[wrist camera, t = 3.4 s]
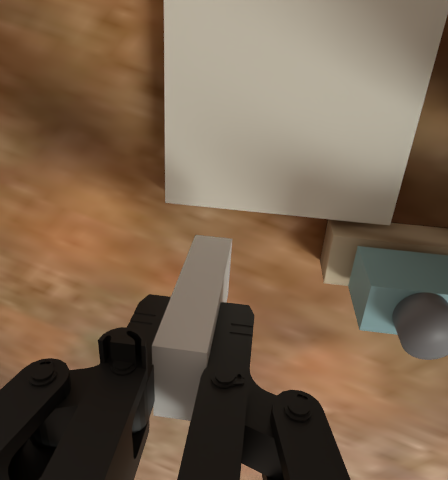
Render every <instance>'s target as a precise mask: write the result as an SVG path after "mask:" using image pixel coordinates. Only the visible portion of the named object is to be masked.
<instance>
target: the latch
mask: <svg viewBox="0 0 448 480" xmlns="http://www.w3.org/2000/svg"><path fill="white" fill-rule="evenodd" d="M348 287H349V291H350V295H351V299H352V302H353V306H354V310H355V314H356V318H357V322H358V326H359V330H364V331H372V332H381V333H389V334H397V335H398V337H399V339H400V342H401V345H402V347H403V349H404V350H405V351H406V352H407V353H408V354H410V355H411V356H413V357H416V358H419V359H426V360H431V359H438V358H442V357H445V356H447V355H448V255H439V254H429V253H420V252H410V251H401V250H391V249H382V248H372V247H363V246H358V247H357V251H356V255H355V259H354V263H353V268H352V272H351V276H350V280H349V284H348Z"/></svg>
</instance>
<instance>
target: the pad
mask: <svg viewBox="0 0 448 480" xmlns="http://www.w3.org/2000/svg"><path fill="white" fill-rule="evenodd" d="M447 15H448V0H164V96H165V203H173V204H183V205H193V206H203V207H213V208H223V209H232V210H242V211H252V212H262V213H272V214H282V215H292V216H301V217H311V218H321V219H331V220H341V221H351V222H361V223H371V224H380V225H390V224H391V220H392V216H393V213H394V209H395V205H396V202H397V198H398V194H399V191H400V187H401V183H402V180H403V176H404V172H405V169H406V165H407V161H408V158H409V154H410V150H411V147H412V143H413V139H414V136H415V132H416V128H417V125H418V121H419V117H420V114H421V110H422V106H423V103H424V99H425V95H426V92H427V88H428V84H429V81H430V77H431V73H432V70H433V66H434V62H435V59H436V55H437V51H438V48H439V44H440V40H441V37H442V33H443V29H444V26H445V22H446V18H447Z"/></svg>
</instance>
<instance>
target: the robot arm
mask: <svg viewBox="0 0 448 480" xmlns="http://www.w3.org/2000/svg"><path fill="white" fill-rule="evenodd" d="M231 248H232V239H229V238H220V237H210V236H201V235H195V237H194V240H193V242H192V245H191V248H190V250H189V253H188V255H187V258H186V260H185V263H184V265H183V268H182V270H181V273H180V275H179V278H178V281H177V283H176V286H175V288H174V291H173V293H172V296H171V297H167V296H159V295H151V294H149V295H148V296H147V297H145V298H144V299H143V300H142V301H140V302H139V304H138V306H137V308H136V310H135V312H134V314H133V316H132V318H131V320H130V322H129V324H128V326H127V327H126V328H116V329H113V330H110V331H108V332H106V333H105V334H103V335H102V336H101V337H100V339H99V340H98V345H99V354H100V365H97V366H94V367H90V368H85V369H77V370H69V368H68V366H67V365H66V363H64V362H63V361H61V360H58V359H52V358H50V359H41V360H38V361H36V362H33V363H31V364H30V365H28V366H27V367H25V368H24V369H23V370H21V371H20V372H19V373H18V374H17V375H16V376H15V377H14V378H13V379H12V380H10V381H9V382H8V383H7V384H6V385H5V386H4V387H3V388H2V389H1V390H0V480H134V477H135V474H136V471H137V468H138V465H139V462H140V458H141V455H142V452H143V449H144V446H145V443H146V439H147V436H148V433H149V417H150V414H151V411H152V408H153V406H154V416H161V417H168V418H175V419H182V420H189V421H191V422H190V426H189V431H188V435H187V439H186V444H185V448H184V453H183V457H182V461H181V466H180V470H179V475H178V479H177V480H240V471H241V463H242V464H244V465H246V466H248V467H250V468H252V469H254V470H256V471H258V472H260V473H262V478H263V480H350V477H349V475H348V472H347V469H346V467H345V464H344V462H343V459H342V457H341V454H340V452H339V449H338V446H337V444H336V441H335V439H334V436H333V434H332V431H331V428H330V426H329V423H328V421H327V418H326V416H325V413H324V410H323V408H322V407H321V405H320V403H319V402H318V401H317V400H316V399H315V398H314V397H312V396H311V395H310V394H307V393H305V392H303V391H298V390H288V391H284V392H282V393H280V394H279V395H277V396H276V395H274V394H272V393H269V392H267V391H265V390H263V389H262V388H260V387H259V386H258V385H257V384H256V383H255V382H254V380H253V379H252V377H251V375H250V358H251V347H252V336H253V325H254V314H253V312H252V310H251V308H250V306H249V305H242V304H233V303H226V302H227V297H228V287H229V274H230V261H231Z"/></svg>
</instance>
